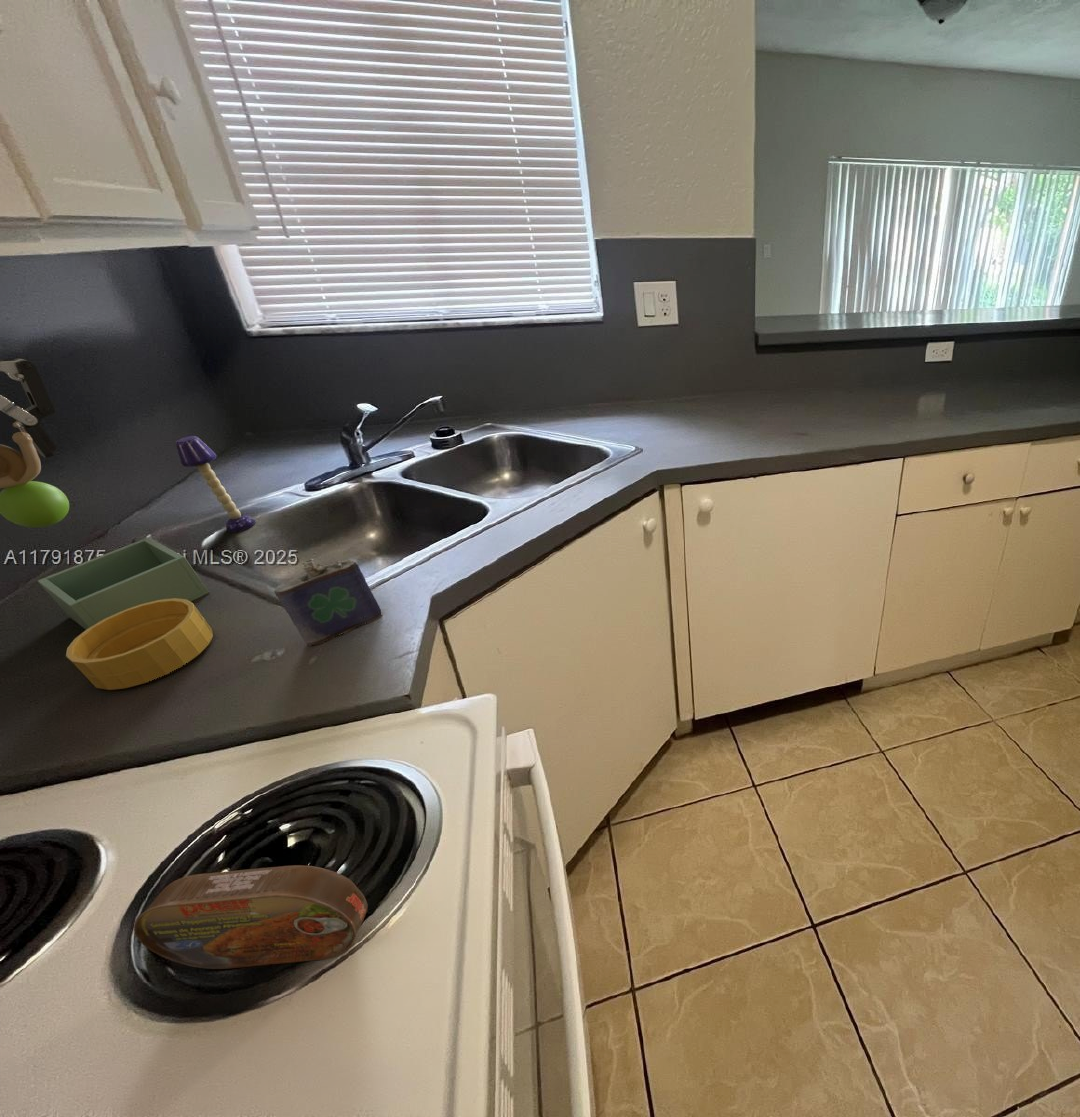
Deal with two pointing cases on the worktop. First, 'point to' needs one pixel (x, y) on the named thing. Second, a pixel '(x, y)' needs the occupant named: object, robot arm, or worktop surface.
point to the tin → (253, 917)
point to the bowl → (140, 643)
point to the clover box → (328, 600)
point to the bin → (123, 582)
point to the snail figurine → (27, 487)
